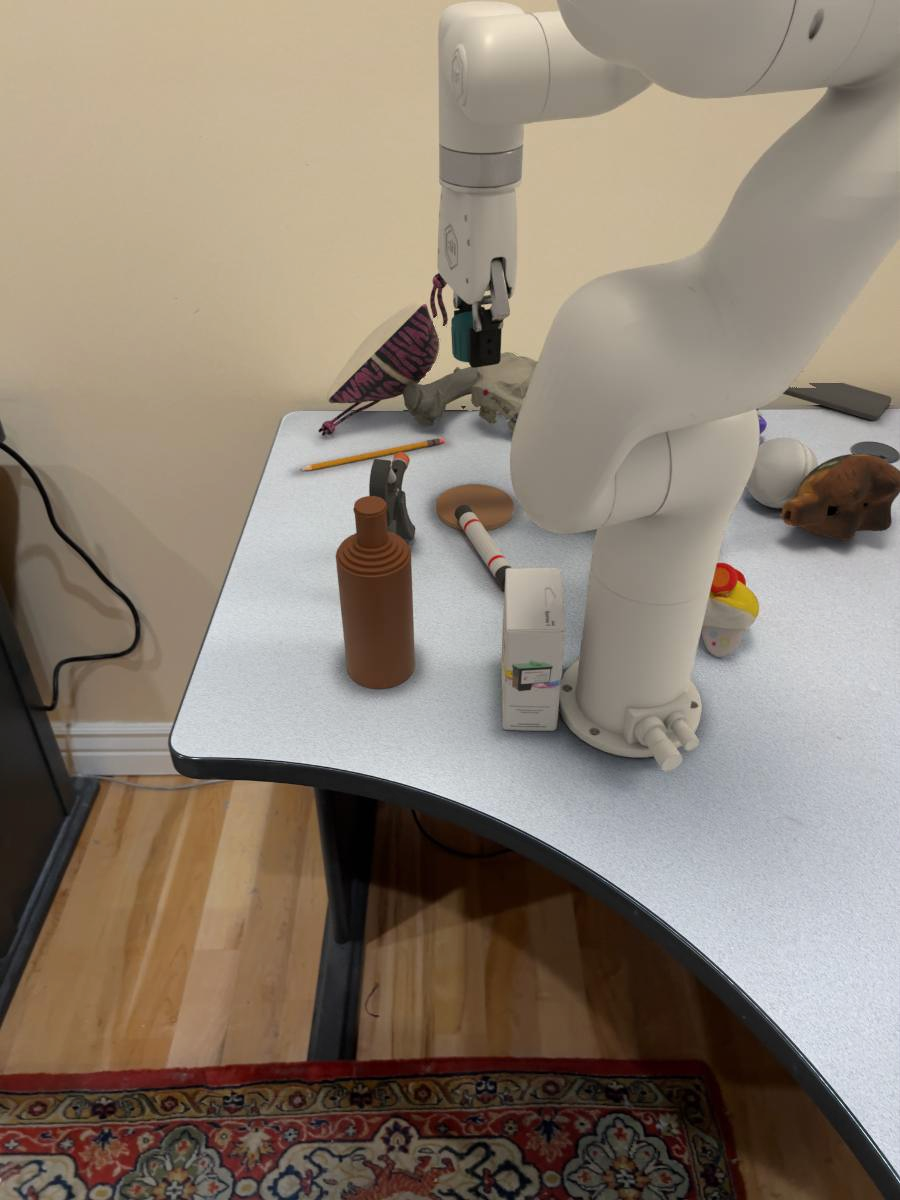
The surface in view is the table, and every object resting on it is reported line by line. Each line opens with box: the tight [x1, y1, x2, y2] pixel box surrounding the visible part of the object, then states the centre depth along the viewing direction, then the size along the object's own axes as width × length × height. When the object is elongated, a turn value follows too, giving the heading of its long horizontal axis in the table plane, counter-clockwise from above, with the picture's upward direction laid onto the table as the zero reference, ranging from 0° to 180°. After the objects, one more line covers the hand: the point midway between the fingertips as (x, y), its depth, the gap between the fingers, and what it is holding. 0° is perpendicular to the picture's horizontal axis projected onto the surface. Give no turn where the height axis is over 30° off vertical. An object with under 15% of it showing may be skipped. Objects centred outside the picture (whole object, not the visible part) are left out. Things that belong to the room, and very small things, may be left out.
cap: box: [450, 312, 483, 364], centre depth 94 cm, size 4×4×4 cm
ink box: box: [500, 567, 567, 732], centre depth 80 cm, size 8×5×12 cm, turn 178°
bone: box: [402, 366, 478, 427], centre depth 125 cm, size 22×6×6 cm, turn 137°
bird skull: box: [470, 351, 538, 434], centre depth 125 cm, size 25×14×10 cm, turn 168°
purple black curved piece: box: [318, 272, 449, 437], centre depth 123 cm, size 25×8×19 cm
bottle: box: [335, 495, 416, 690], centre depth 81 cm, size 6×6×18 cm
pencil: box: [299, 437, 445, 471], centre depth 116 cm, size 19×1×1 cm, turn 112°
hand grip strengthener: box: [368, 452, 417, 541], centre depth 94 cm, size 2×13×15 cm, turn 169°
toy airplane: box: [700, 562, 760, 658], centre depth 90 cm, size 13×9×15 cm
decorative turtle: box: [781, 453, 900, 541], centre depth 100 cm, size 10×15×8 cm
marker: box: [455, 505, 512, 590], centre depth 99 cm, size 15×2×2 cm, turn 21°
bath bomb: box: [745, 437, 819, 509], centre depth 106 cm, size 8×8×8 cm
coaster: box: [435, 483, 515, 532], centre depth 107 cm, size 9×9×1 cm
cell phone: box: [782, 382, 893, 421], centre depth 128 cm, size 7×14×1 cm, turn 54°
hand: (476, 353), depth 95 cm, fingers closed on cap, 3 cm apart
